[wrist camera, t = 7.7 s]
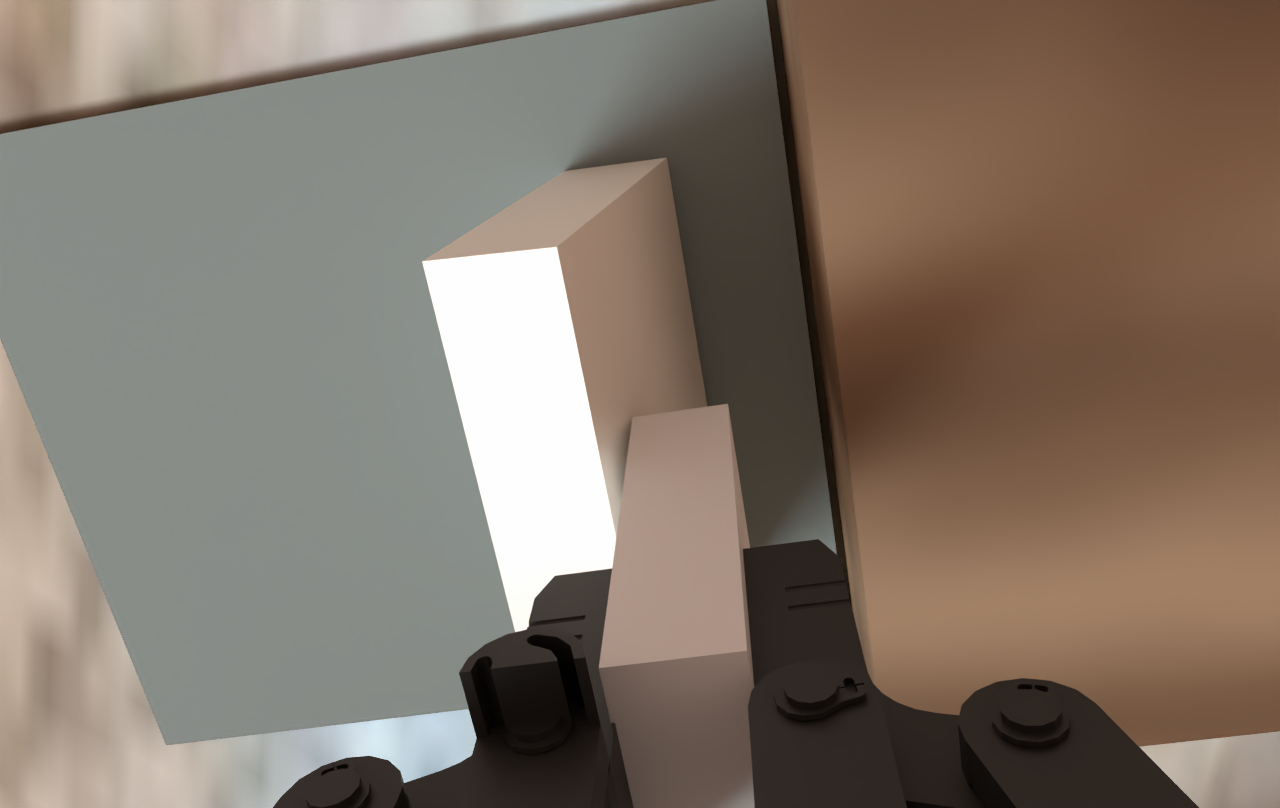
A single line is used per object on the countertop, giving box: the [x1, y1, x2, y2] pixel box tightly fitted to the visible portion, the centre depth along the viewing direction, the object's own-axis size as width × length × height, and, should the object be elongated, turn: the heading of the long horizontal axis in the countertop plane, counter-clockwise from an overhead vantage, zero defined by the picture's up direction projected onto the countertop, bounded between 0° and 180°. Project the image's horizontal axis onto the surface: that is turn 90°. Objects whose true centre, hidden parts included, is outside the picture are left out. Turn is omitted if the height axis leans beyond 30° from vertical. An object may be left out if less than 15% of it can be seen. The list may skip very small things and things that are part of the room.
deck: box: [776, 0, 1280, 746], centre depth 19 cm, size 14×15×4 cm
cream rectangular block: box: [422, 158, 707, 632], centre depth 19 cm, size 9×6×2 cm
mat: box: [0, 0, 837, 745], centre depth 23 cm, size 14×16×1 cm
